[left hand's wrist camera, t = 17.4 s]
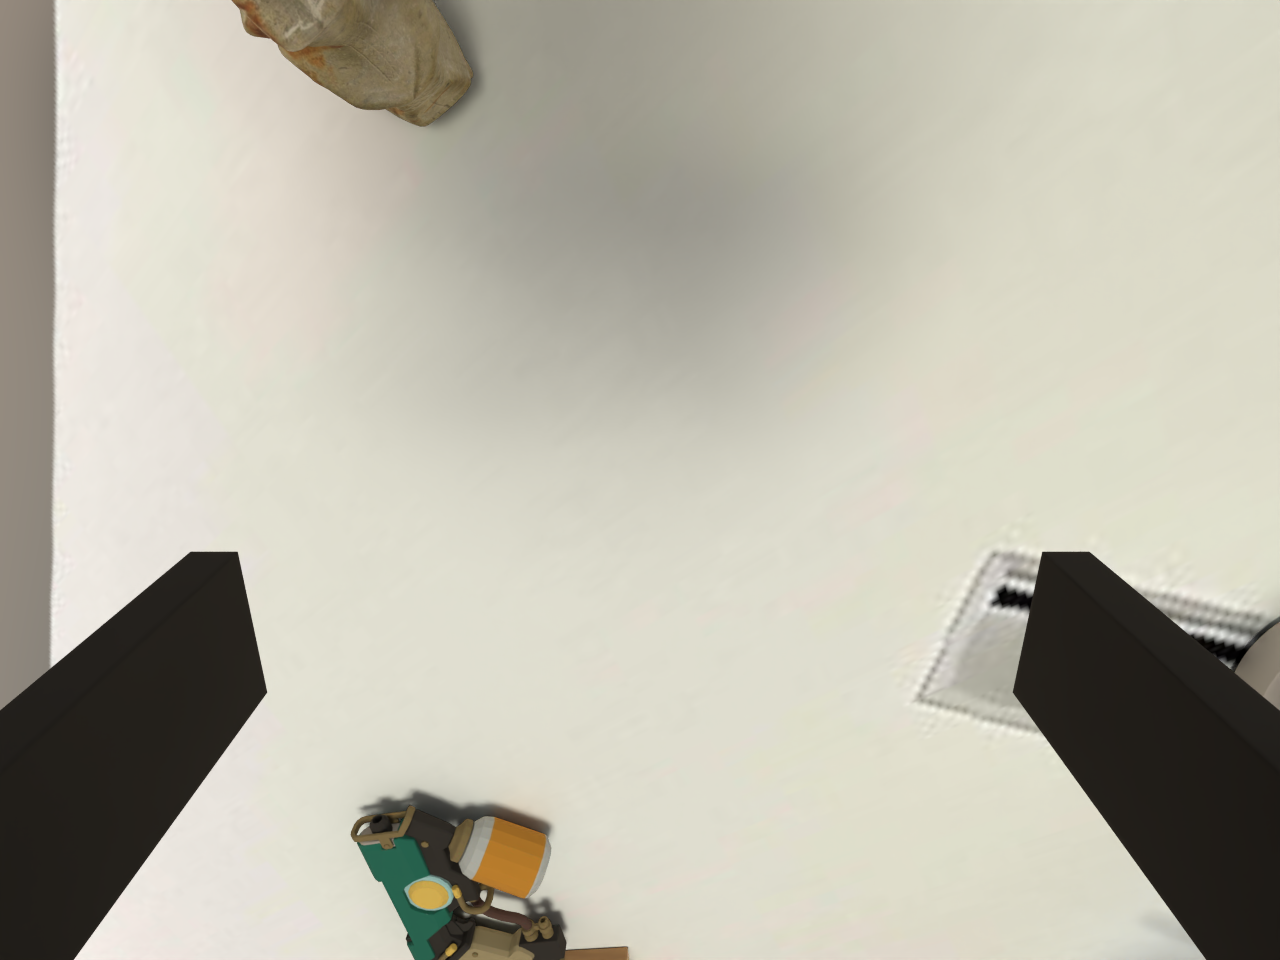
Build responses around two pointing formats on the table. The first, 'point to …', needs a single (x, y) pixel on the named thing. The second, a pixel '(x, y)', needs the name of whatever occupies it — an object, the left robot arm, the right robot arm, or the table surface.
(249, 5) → the sculpture
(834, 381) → the table surface
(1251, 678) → the bust sculpture
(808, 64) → the table surface
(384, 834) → the spray gun
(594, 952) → the bar
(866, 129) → the table surface
